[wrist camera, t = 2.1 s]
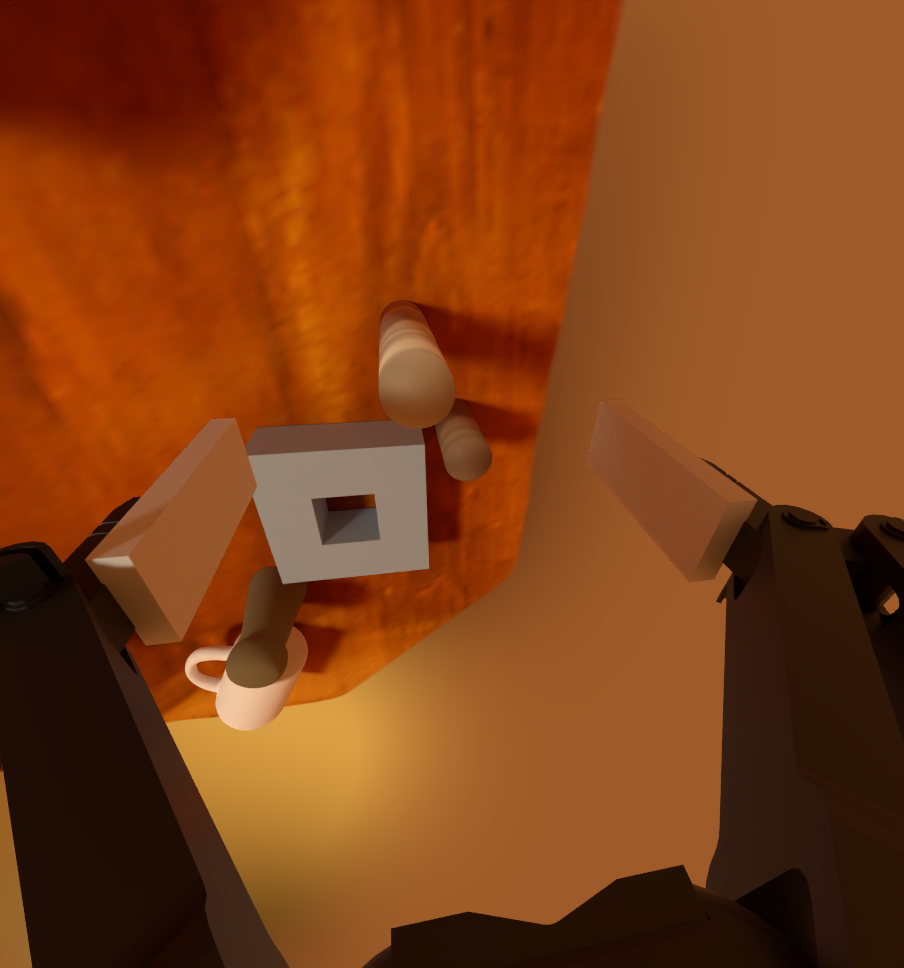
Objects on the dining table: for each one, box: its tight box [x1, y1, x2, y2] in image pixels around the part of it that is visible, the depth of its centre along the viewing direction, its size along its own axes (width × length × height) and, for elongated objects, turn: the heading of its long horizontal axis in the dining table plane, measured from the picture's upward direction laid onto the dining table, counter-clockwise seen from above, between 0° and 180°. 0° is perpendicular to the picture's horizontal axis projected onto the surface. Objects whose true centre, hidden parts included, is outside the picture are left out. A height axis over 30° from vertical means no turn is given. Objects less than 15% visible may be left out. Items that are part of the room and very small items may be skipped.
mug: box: [185, 626, 308, 730], centre depth 45 cm, size 12×10×8 cm
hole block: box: [245, 420, 429, 584], centre depth 36 cm, size 14×14×5 cm
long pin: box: [379, 300, 456, 429], centre depth 24 cm, size 4×4×15 cm
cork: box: [226, 566, 307, 688], centre depth 39 cm, size 6×6×11 cm
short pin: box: [434, 398, 492, 481], centre depth 32 cm, size 4×4×8 cm
